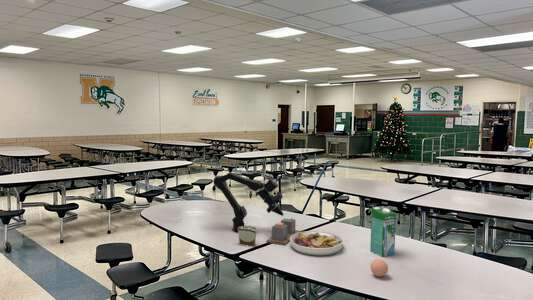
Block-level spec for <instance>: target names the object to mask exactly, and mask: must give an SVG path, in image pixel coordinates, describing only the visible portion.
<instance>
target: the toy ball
mask: <svg viewBox="0 0 533 300" xmlns="http://www.w3.org/2000/svg"><path fill="white" fill-rule="evenodd" d="M370 272H371V273H372V274H373V275H374V276H376V277H377V278H378V277H379V278H381V277H382V278H383V277H385V276H386V275H387V274H388V272H389V265H388V263H387V262H386V261H385V260H383V259H380V258H377V259H374V260H373V261H371V263H370Z"/></svg>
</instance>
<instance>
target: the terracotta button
mask: <svg viewBox="0 0 533 300" xmlns="http://www.w3.org/2000/svg"><path fill="white" fill-rule="evenodd" d="M275 224H276V227H283V226H284V223H281V222H279V221H278V222H277V223H275Z"/></svg>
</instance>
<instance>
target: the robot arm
mask: <svg viewBox="0 0 533 300" xmlns="http://www.w3.org/2000/svg"><path fill="white" fill-rule="evenodd" d="M228 180H231V181H234V182H236V183H239V184H242V185H243V186H246V187H247V188H249V189H250V190H252V191H253V192H255V193H254V195H255V197H258V196H259V198H261V199H262V201H263V203H264V204H266V205H267V206H268V207H267V208H266V212H267V213H268V214H270V213H272V212H273V213H274V214H277V215H280V216H284V212H283V211H282V208H281V203H280V202H282V199H283V198H284V196H283V193H282V192H280V191H277V192H276V194H275V195H274V194H270V193H272V192H273V191H275V190H276V189H277V188H278V187H279V186H278V184H277V182H276V181H274V180H273V179H272V178H270V179H268V180H267V181H266V183H265V182H264V183H263V182H261V181H260V180H256V179H249V178H246V177H244V176H241V175H239V174H236V173H234V172H232V171H229V172H227V173H226V174H224V175H219V176H217V177H215V178H214V179H213V182H212V183H213V185H214V186H215V187H216V188H217V189H219V190H220V191H221V192H222V194H223V196H224V197H225V198H226V200H227V201H228V203H229V204H230V206H231V208H232V209H233V213H234V217H233V218H232V220H231V221H232V226H233V227H232V229H231V230H232V231H233V232H235V233H238V231H237V229H238V227H241V226H245V221H244V219H245V218H246V217H247V215H248V212H247V209H246V208H245V206H244V205H242V206H241V205H240V204H239V202H238V201H237V200H236V198H235V196H234V195H233V193H232V191H231V190H230V189H229V187H228V183H227V181H228Z"/></svg>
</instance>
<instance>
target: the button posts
mask: <svg viewBox="0 0 533 300" xmlns="http://www.w3.org/2000/svg"><path fill="white" fill-rule="evenodd" d="M280 223H284V226H283V227H276V223H275V224H274V225H271V237H272V240H277V241H284V240H285V239H287V234H290V235H292V234H293V233H294V232H295V230H296V219H295V218H292V221H284V218H283V219H281V220H280Z"/></svg>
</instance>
